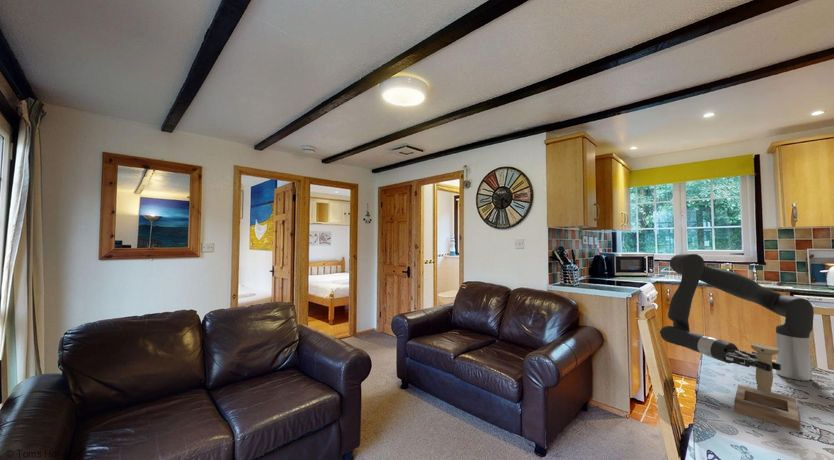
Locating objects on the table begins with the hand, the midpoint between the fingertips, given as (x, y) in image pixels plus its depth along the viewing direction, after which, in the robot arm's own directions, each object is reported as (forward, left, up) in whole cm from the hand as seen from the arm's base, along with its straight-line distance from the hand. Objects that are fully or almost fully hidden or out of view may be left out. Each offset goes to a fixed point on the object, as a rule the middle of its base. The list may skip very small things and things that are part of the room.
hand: (775, 367), depth 107 cm
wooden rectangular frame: (0, -3, -15) cm, 15 cm away
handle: (+1, -3, -9) cm, 10 cm away
